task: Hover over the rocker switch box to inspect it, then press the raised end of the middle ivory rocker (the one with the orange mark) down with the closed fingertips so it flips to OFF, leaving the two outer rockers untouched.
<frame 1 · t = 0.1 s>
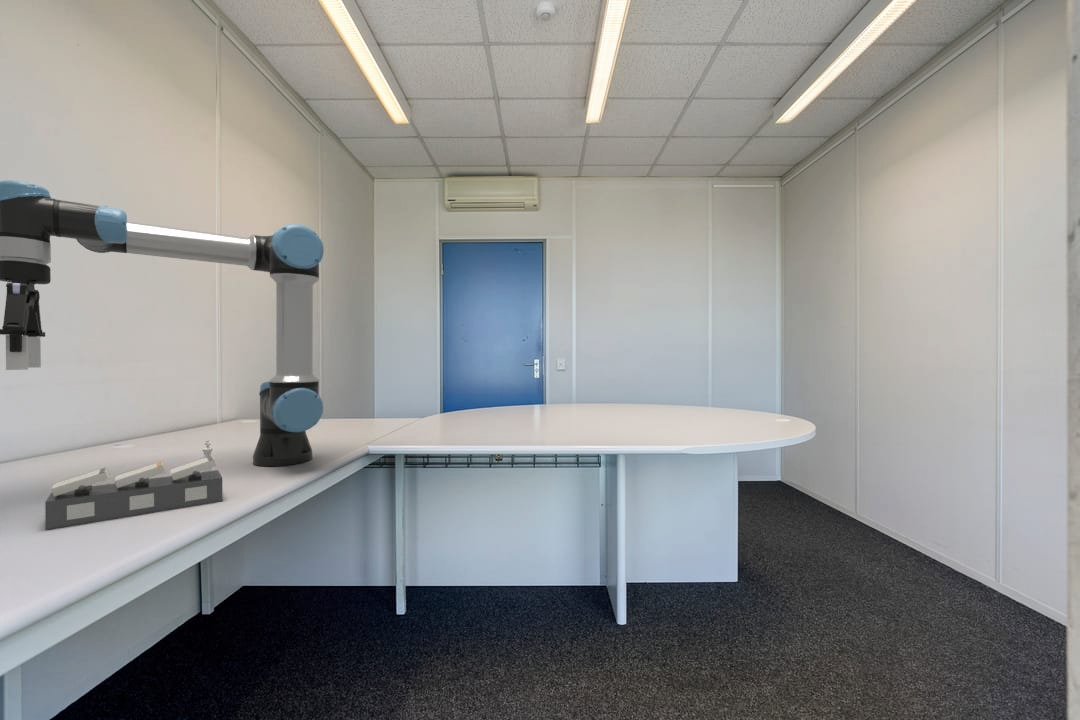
hand: (24, 368, 94), 28 cm above the table, fingers open, 13 cm apart
rocker switch box: (142, 508, 94), on the table
rocker 1: (193, 468, 100), point 7 cm above the table, hinge at 15.0°
chess piece: (207, 482, 114), on the table
rocker 2: (141, 475, 94), point 7 cm above the table, hinge at 15.0°
rocker 3: (82, 482, 89), point 7 cm above the table, hinge at 15.0°
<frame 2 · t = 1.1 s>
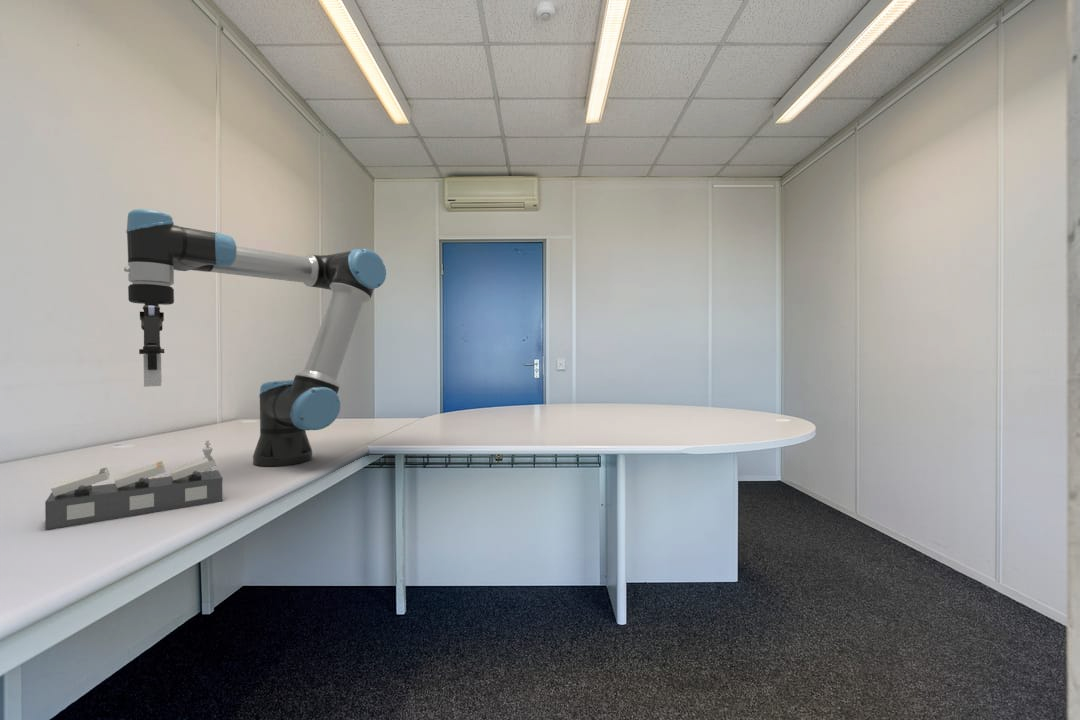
hand: (153, 384, 101), 24 cm above the table, fingers open, 13 cm apart
nothing on the table moved.
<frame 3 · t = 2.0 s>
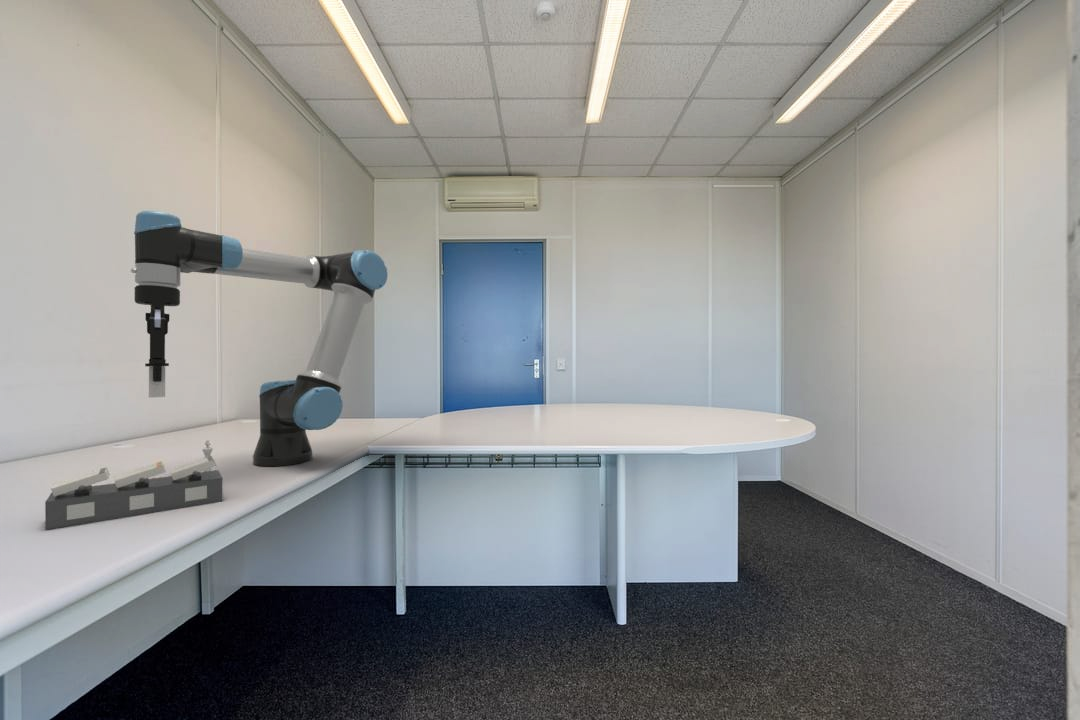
hand: (157, 396, 100), 22 cm above the table, fingers closed
nothing on the table moved.
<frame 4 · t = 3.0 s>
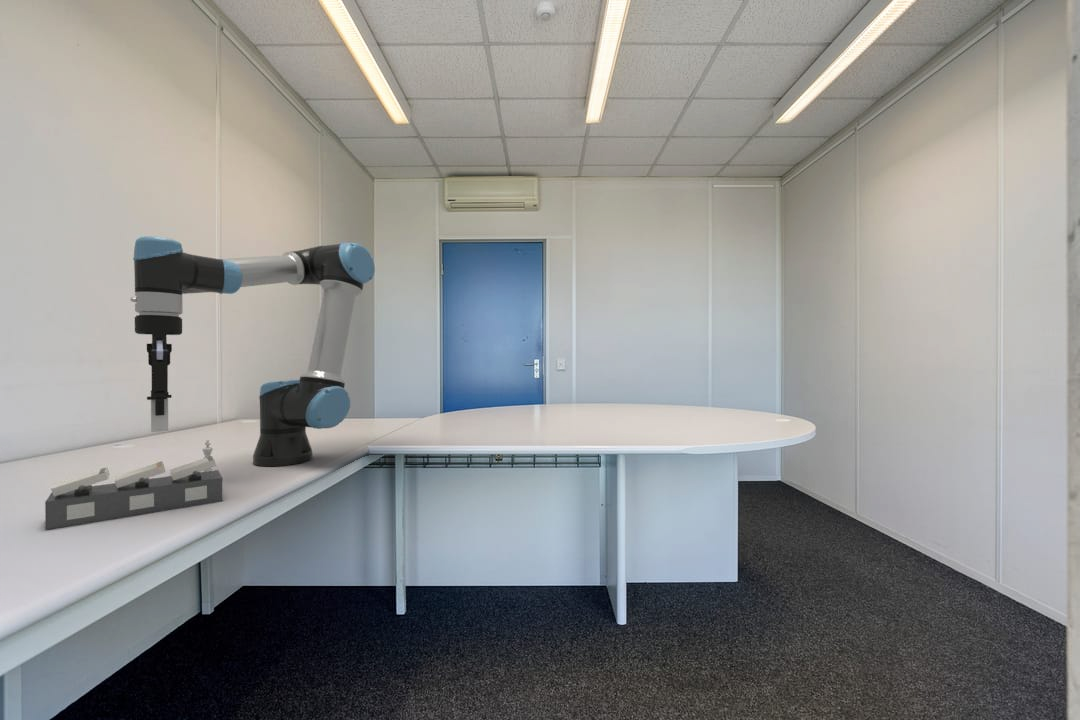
hand: (159, 430, 96), 15 cm above the table, fingers closed
nothing on the table moved.
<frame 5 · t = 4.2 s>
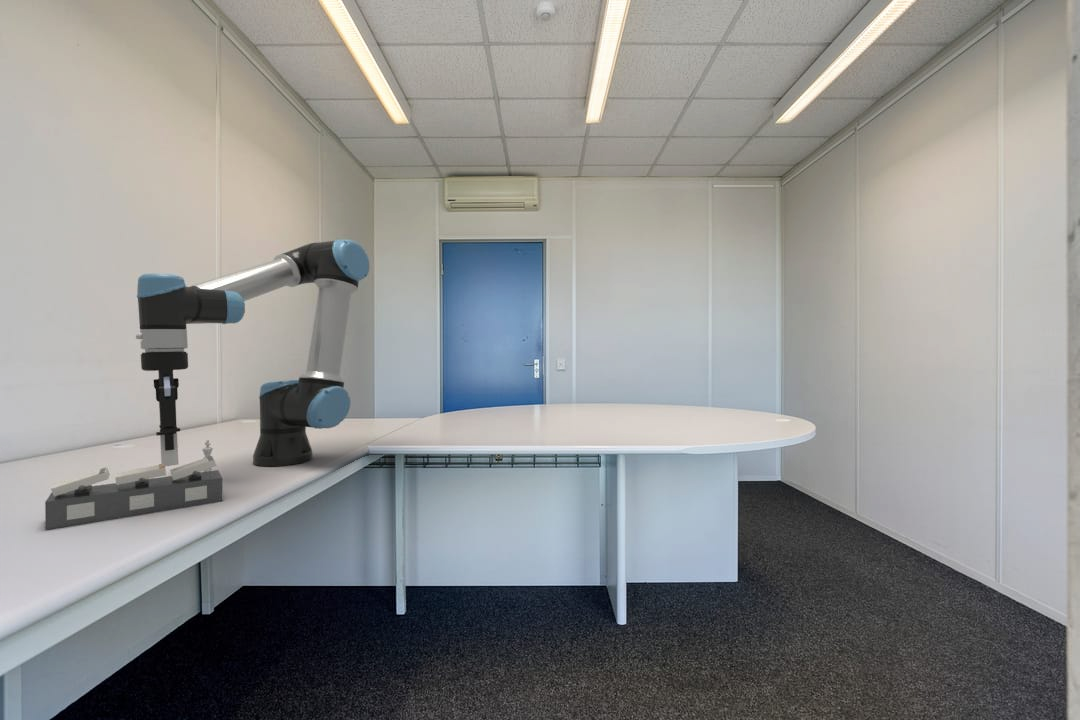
hand: (170, 464, 97), 8 cm above the table, fingers closed
rocker 2: (141, 474, 94), point 7 cm above the table, hinge at 5.3°, touching gripper
everything else where it was.
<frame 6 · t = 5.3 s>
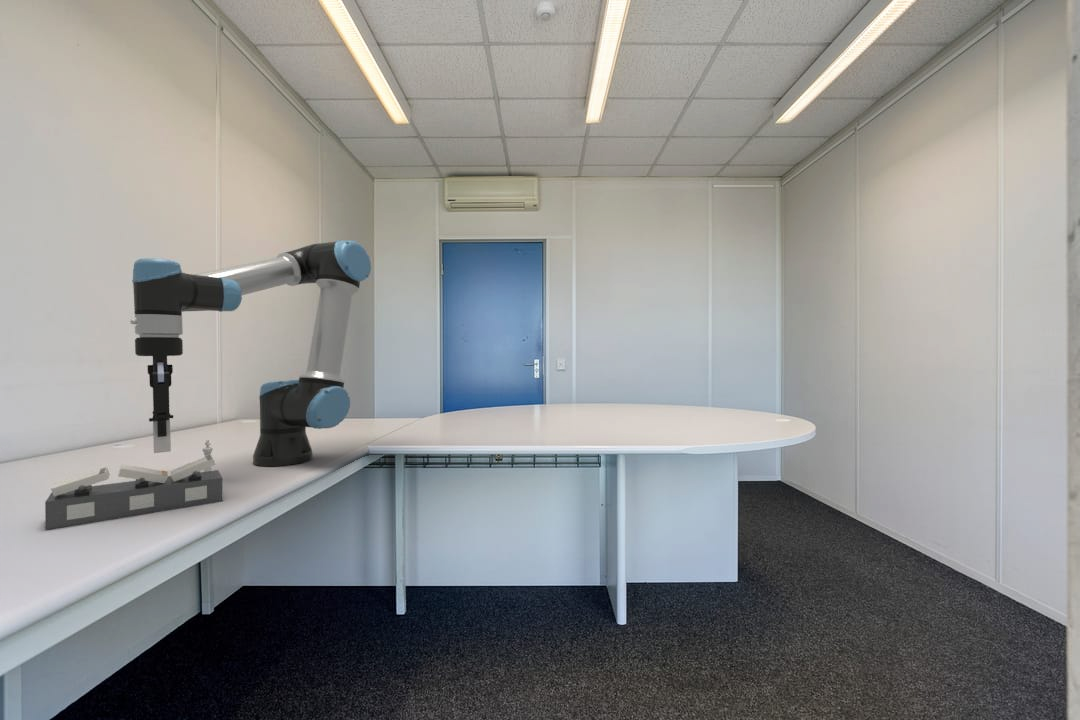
hand: (162, 451, 96), 11 cm above the table, fingers closed
rocker 1: (193, 468, 100), point 7 cm above the table, hinge at 19.9°
rocker 2: (143, 474, 94), point 7 cm above the table, hinge at -20.2°
everything else where it was.
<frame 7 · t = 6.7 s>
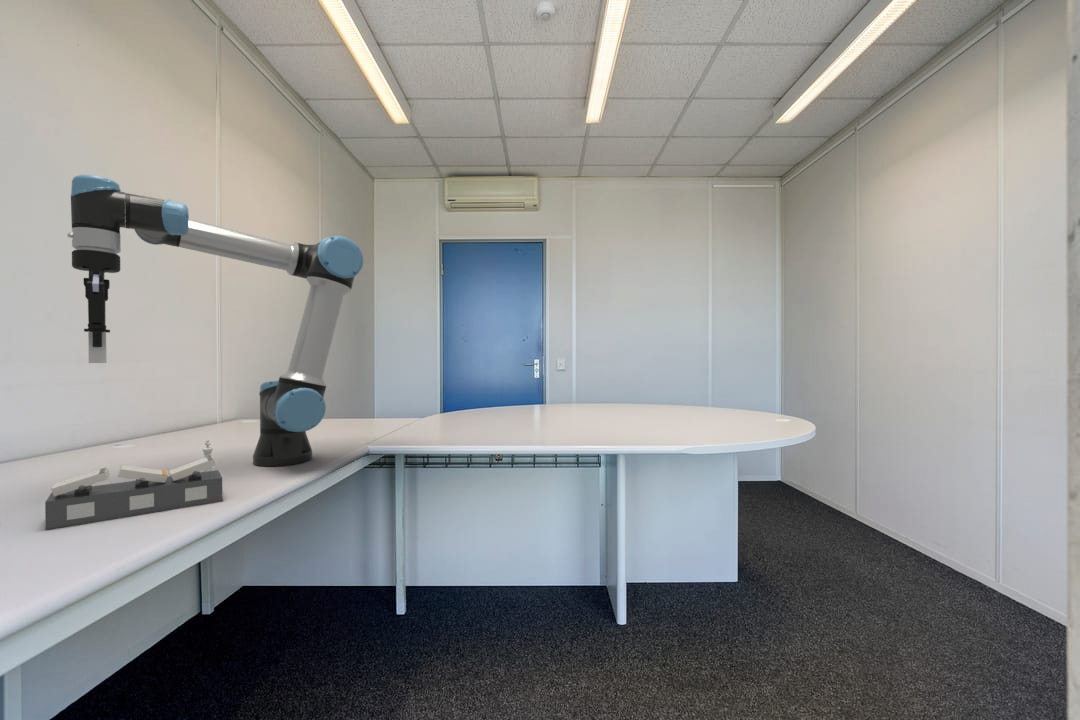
hand: (97, 362, 100), 29 cm above the table, fingers closed
rocker 1: (193, 468, 100), point 7 cm above the table, hinge at 17.1°
rocker 2: (143, 474, 94), point 7 cm above the table, hinge at -18.3°
everything else where it was.
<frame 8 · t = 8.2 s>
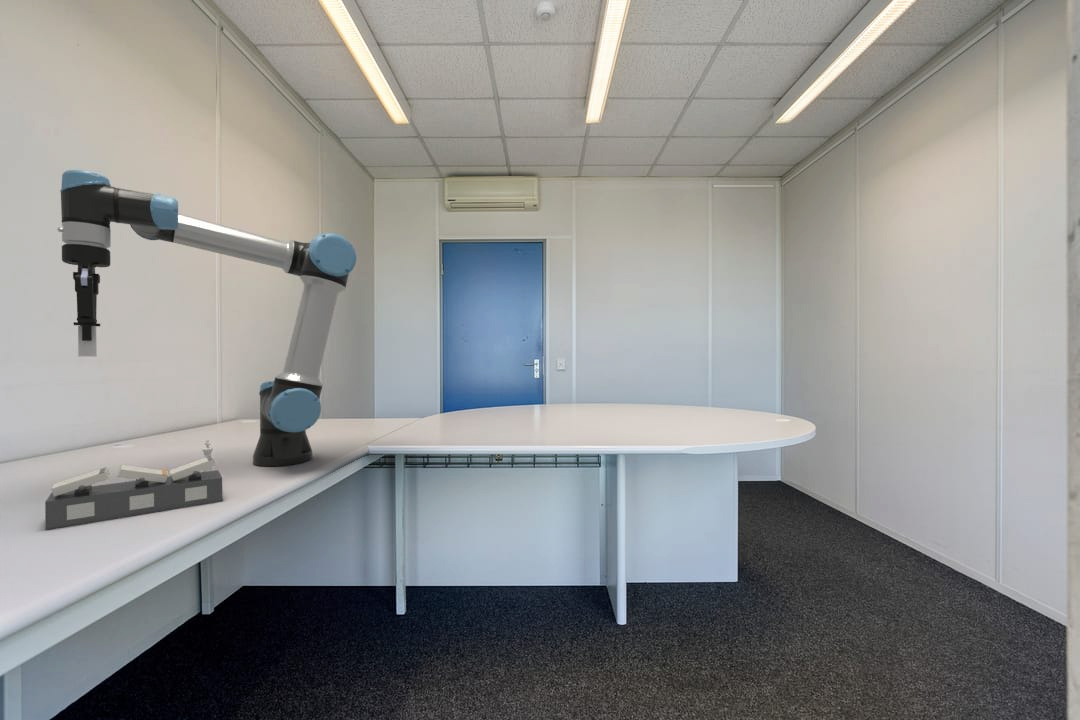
hand: (87, 356, 101), 30 cm above the table, fingers closed
rocker 1: (193, 468, 100), point 7 cm above the table, hinge at 16.5°
rocker 2: (143, 474, 94), point 7 cm above the table, hinge at -17.9°
everything else where it was.
at the end: rocker 2 at -18° (first picture: +15°); rocker 1 at +16° (first picture: +15°); rocker 3 at +15° (first picture: +15°) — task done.
